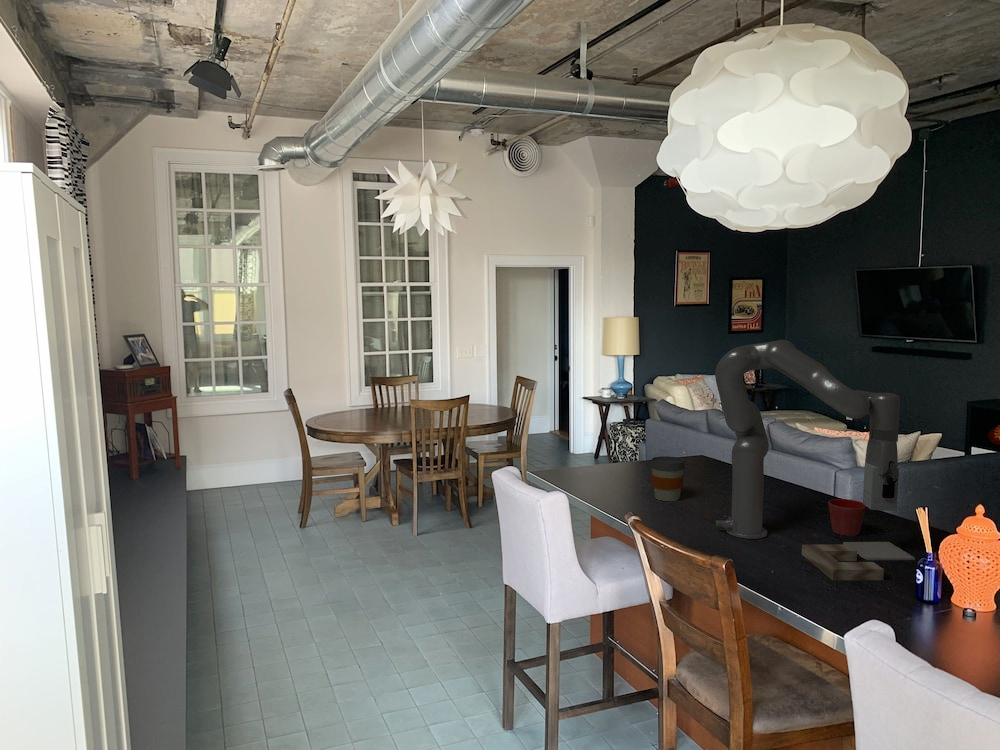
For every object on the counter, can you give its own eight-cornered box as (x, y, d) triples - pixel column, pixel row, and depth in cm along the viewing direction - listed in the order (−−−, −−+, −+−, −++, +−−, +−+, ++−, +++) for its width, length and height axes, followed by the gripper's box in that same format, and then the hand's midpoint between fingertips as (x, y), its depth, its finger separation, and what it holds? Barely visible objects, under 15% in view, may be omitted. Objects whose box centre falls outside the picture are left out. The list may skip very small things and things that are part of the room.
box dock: (832, 580, 195) (833, 569, 194) (801, 554, 215) (802, 544, 214) (883, 580, 195) (883, 569, 195) (847, 554, 215) (847, 544, 214)
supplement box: (897, 511, 211) (899, 468, 210) (869, 510, 212) (872, 467, 211) (888, 504, 218) (890, 462, 217) (861, 503, 220) (864, 461, 218)
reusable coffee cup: (681, 494, 281) (682, 456, 279) (686, 503, 268) (687, 463, 267) (648, 494, 282) (649, 456, 281) (652, 503, 270) (652, 463, 268)
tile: (866, 560, 210) (866, 558, 210) (843, 544, 224) (843, 542, 224) (914, 559, 210) (914, 557, 210) (888, 543, 224) (888, 541, 224)
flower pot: (844, 539, 228) (845, 509, 227) (820, 529, 239) (821, 499, 238) (872, 536, 231) (873, 506, 230) (847, 526, 241) (848, 497, 240)
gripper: (856, 429, 222) (853, 486, 224) (886, 441, 204) (883, 502, 206) (880, 429, 222) (877, 486, 224) (913, 441, 204) (909, 502, 206)
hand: (880, 493), depth 215 cm, fingers closed on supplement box, 8 cm apart
